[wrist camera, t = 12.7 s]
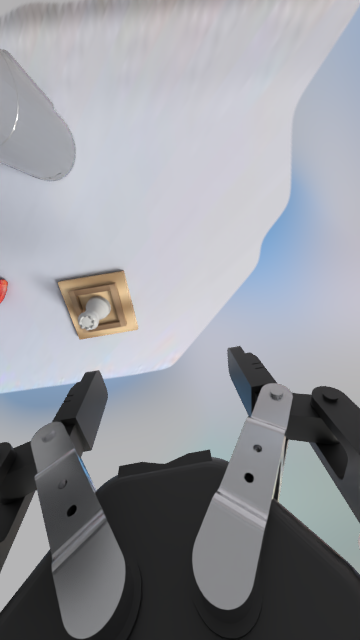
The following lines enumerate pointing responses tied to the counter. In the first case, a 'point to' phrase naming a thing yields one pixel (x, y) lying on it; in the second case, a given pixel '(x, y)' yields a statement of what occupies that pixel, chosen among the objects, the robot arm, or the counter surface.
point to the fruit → (3, 289)
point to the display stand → (108, 288)
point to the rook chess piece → (94, 312)
